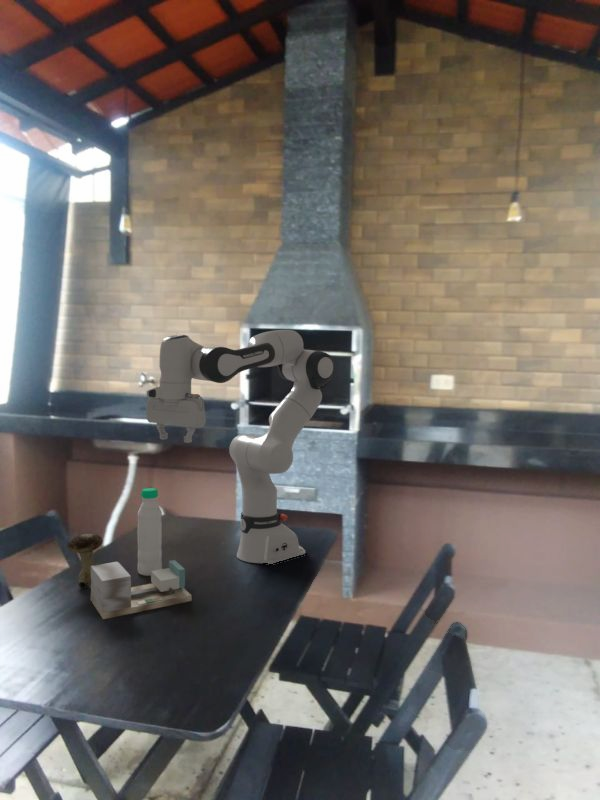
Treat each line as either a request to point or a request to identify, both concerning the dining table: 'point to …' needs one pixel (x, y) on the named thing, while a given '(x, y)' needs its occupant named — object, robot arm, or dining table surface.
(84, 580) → the mushroom
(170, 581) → the block with teal panel
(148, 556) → the water bottle
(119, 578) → the frame
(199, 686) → the dining table surface
